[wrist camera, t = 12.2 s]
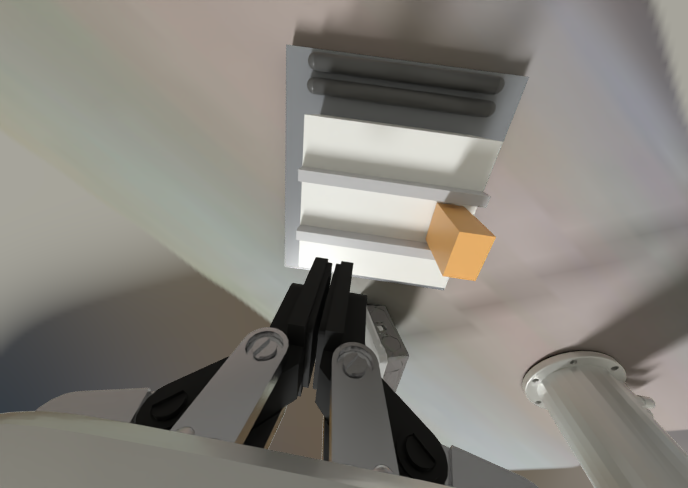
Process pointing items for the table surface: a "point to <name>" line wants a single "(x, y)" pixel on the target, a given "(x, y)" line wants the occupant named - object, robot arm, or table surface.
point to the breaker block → (385, 157)
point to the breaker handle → (458, 241)
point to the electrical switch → (385, 344)
